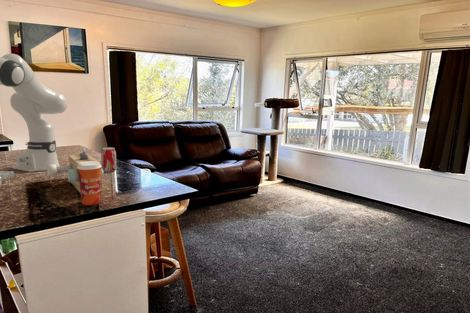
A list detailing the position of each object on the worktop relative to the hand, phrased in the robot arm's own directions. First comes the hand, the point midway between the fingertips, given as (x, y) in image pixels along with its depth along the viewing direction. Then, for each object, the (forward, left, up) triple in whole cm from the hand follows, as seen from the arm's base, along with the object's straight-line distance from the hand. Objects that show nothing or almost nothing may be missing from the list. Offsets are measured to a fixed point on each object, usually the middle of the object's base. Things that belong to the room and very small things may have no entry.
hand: (14, 174), depth 130 cm
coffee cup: (+36, -2, -7) cm, 37 cm away
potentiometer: (+21, +15, +5) cm, 26 cm away
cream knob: (+12, +14, -3) cm, 18 cm away
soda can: (+14, +42, -7) cm, 45 cm away
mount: (+21, +15, -7) cm, 27 cm away
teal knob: (+25, +10, -3) cm, 27 cm away
